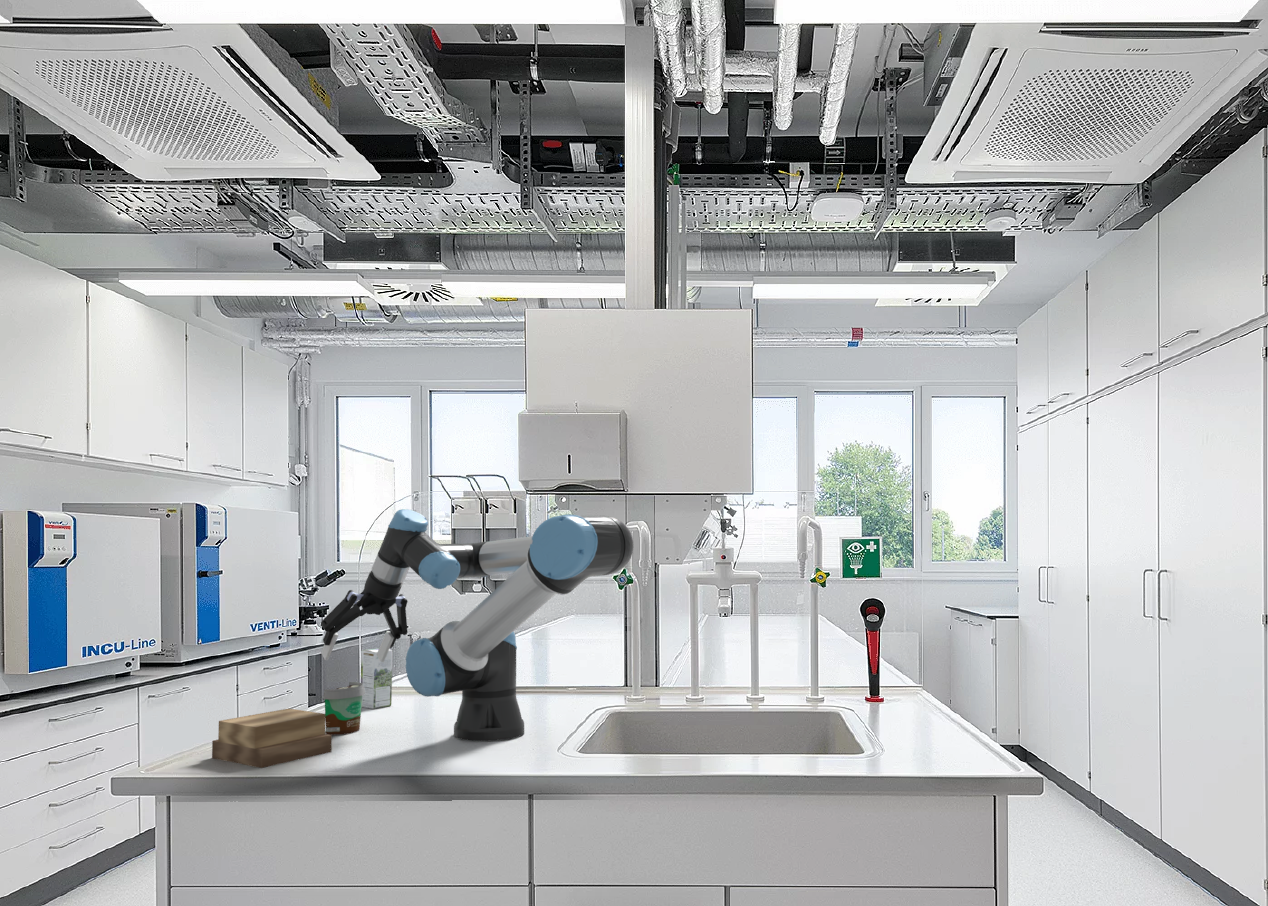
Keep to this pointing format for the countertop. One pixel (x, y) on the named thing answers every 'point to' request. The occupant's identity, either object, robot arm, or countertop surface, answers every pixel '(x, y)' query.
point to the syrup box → (376, 679)
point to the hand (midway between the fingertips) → (352, 657)
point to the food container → (343, 709)
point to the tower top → (271, 728)
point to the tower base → (272, 751)
